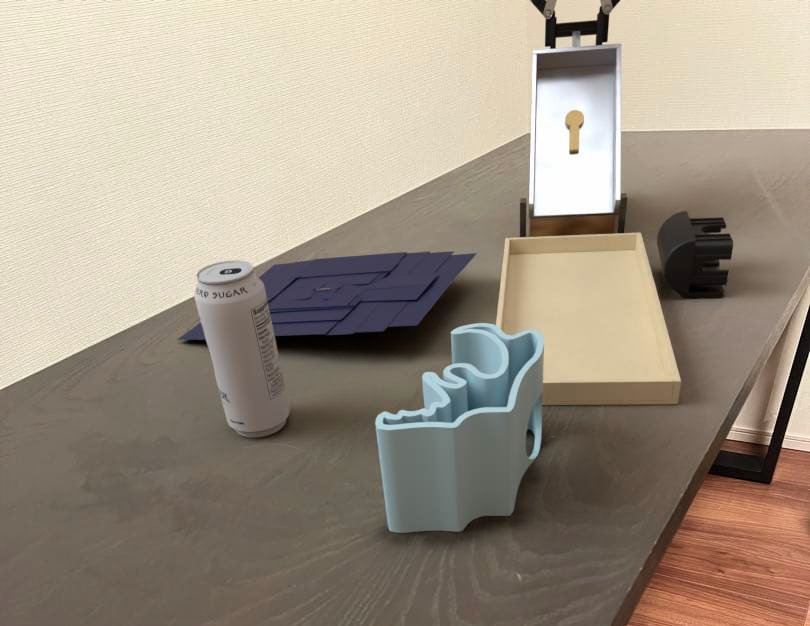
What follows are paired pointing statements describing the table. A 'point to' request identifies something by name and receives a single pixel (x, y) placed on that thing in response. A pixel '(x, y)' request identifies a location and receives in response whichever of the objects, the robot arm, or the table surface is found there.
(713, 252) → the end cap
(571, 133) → the key
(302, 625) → the table surface
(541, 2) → the robot arm
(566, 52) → the dish
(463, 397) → the squiggly pen holder
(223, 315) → the energy drink can
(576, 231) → the dish stand
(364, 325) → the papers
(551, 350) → the tray
